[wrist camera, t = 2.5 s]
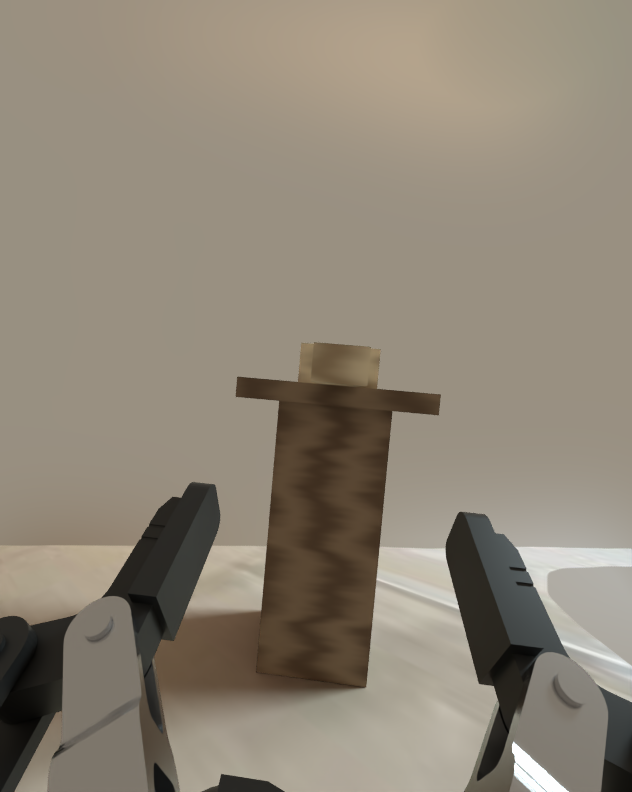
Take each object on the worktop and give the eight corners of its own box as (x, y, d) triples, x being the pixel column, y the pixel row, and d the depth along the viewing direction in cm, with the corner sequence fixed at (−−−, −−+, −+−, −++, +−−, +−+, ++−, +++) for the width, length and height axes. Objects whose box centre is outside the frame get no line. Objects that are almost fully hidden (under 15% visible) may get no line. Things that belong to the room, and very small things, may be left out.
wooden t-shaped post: (387, 622, 45) (409, 392, 44) (408, 715, 32) (440, 394, 31) (246, 604, 46) (265, 380, 46) (211, 687, 33) (237, 376, 33)
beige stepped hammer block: (368, 388, 41) (371, 357, 41) (404, 389, 20) (410, 323, 20) (305, 383, 41) (307, 351, 41) (274, 378, 20) (280, 313, 20)
